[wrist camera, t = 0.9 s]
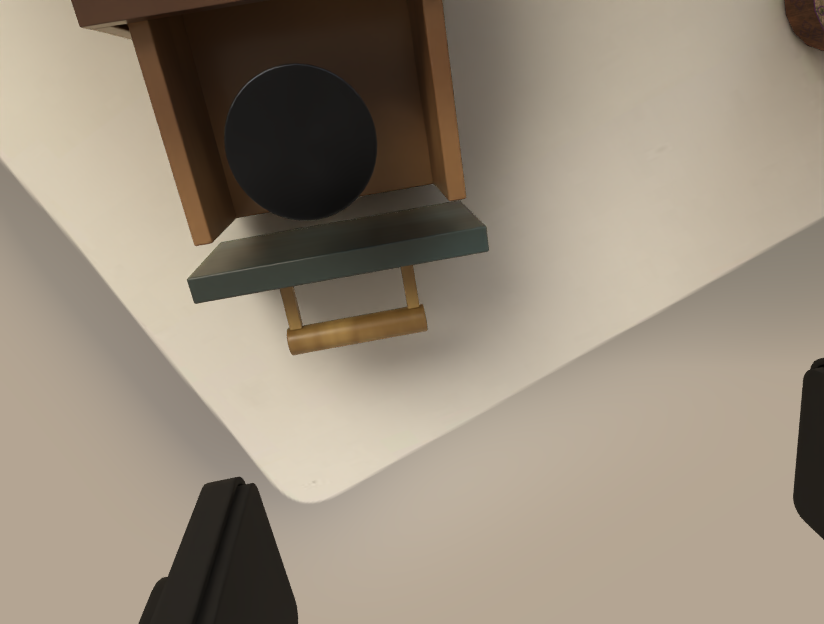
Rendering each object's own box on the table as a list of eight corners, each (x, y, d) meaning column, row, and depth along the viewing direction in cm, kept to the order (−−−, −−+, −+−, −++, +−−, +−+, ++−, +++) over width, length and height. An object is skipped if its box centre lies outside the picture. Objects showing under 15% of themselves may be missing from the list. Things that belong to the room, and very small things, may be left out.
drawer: (472, 292, 34) (498, 337, 27) (246, 333, 33) (220, 388, 27) (425, -80, 27) (446, -134, 21) (140, -35, 27) (74, -76, 20)
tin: (259, 84, 28) (204, 77, 18) (359, 67, 28) (362, 50, 18) (283, 185, 30) (245, 232, 19) (377, 168, 30) (389, 207, 20)
